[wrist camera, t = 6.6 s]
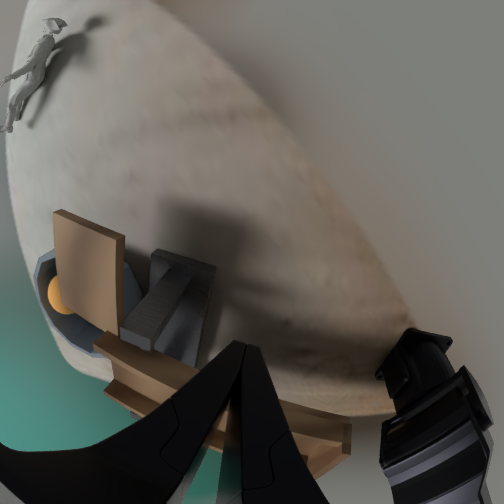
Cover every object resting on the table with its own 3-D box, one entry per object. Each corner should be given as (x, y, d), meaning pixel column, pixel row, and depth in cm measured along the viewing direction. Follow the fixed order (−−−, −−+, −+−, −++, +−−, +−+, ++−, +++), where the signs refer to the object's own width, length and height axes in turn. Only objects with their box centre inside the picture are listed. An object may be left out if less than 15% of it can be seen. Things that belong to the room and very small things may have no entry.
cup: (145, 256, 21) (120, 278, 18) (142, 347, 26) (126, 373, 22) (55, 224, 22) (28, 238, 18) (65, 311, 26) (45, 329, 22)
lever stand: (215, 266, 21) (177, 335, 13) (194, 373, 26) (169, 437, 18) (157, 248, 21) (97, 304, 13) (151, 357, 26) (117, 415, 18)
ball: (71, 261, 23) (90, 279, 22) (74, 293, 25) (93, 313, 23) (39, 272, 20) (54, 294, 18) (45, 306, 21) (61, 328, 20)
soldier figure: (15, 102, 18) (39, 8, 10) (48, 106, 21) (78, 12, 13) (-10, 142, 14) (6, 26, 7) (28, 145, 18) (54, 29, 10)
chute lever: (412, 334, 12) (427, 380, 9) (309, 454, 17) (303, 487, 14) (63, 208, 15) (24, 222, 12) (81, 354, 20) (59, 375, 17)
